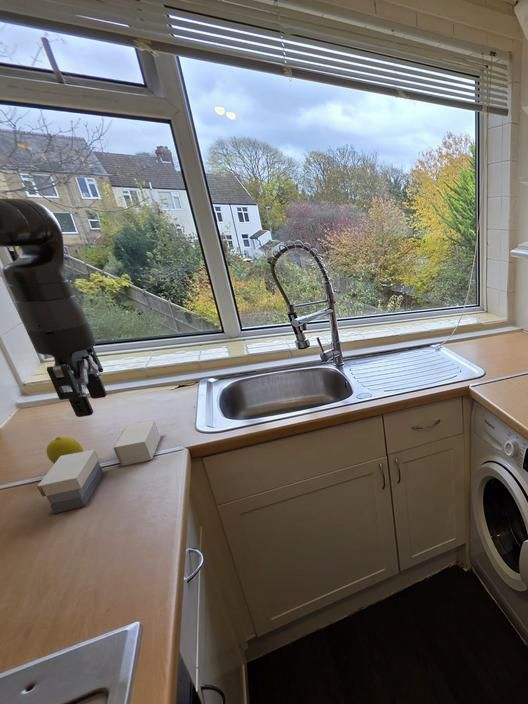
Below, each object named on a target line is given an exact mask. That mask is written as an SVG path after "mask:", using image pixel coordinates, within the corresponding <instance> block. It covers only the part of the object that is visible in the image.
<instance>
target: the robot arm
mask: <svg viewBox="0 0 528 704" xmlns="http://www.w3.org/2000/svg"><path fill="white" fill-rule="evenodd" d="M15 247H18V257H17V259H15V260H14V261H11V262H9V263H7V264H5V265H4V266H3V267H2V268H1V273H2V276H3V278H4V281H5V283H6V285H7V287H8V289H9V291H10V293H11V296H12V298H13V300H14V303H15V306H16V308H17V313H18V315H19V319H20V320H21V322H22V325H23V327H24V329H25V331H26V333H27V335H28V337H29V339H30V342H31V344H32V346H33V348H34V350H35V352H36V353H37V354H39V355H43V356H51V357H53V360H54V365H52V366H47V367H46V371H47V374H48V376H49V378H50V381H51V383H52V386H53V388H54V390H55V393H56V395H57V397H58V399H59V400H60V401H64V400H68V401H69V404H70V406H71V408H72V411H73V412H74V414H75V416H76V417H77V418H82V417H89V416H92V415H93V414H94V409H93V407H92V405H91V403H90V400H89V398H88V396H87V393H86V389H87V392H88V394H89V395H90V398H91V399H93V400H97V399H102V398H106V397H107V395H108V392H107V391H106V390H107V389H106V388H105V386H104V383H103V381H102V378H103V376H102V373H103V372H104V368H103V366H102V364H101V362H100V360H99V357H98V355H97V352H96V350H95V348H94V347H95V345H96V344H97V342H96V339H95V337H94V334H93V331H92V329H91V327H90V324H89V322H88V320H87V317H86V314H85V312H84V310H83V307H82V305H81V304H80V303H79V301H78V299H77V297H76V295H75V293H74V290H73V288H72V285H71V282H70V280H69V278H68V275H67V274H66V267H65V266H66V265H65V264H66V260H65V259H66V257H65V245H64V234H63V230H62V227H61V224H60V222H59V221H58V219H57V218H56V217H55V214H53V212H51V211H50V210H49V209H48V208H47V207H46V206H45V205H43V204H41V203H40V202H38V201H34V200H32V199H27V198H0V248H15Z"/></svg>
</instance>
